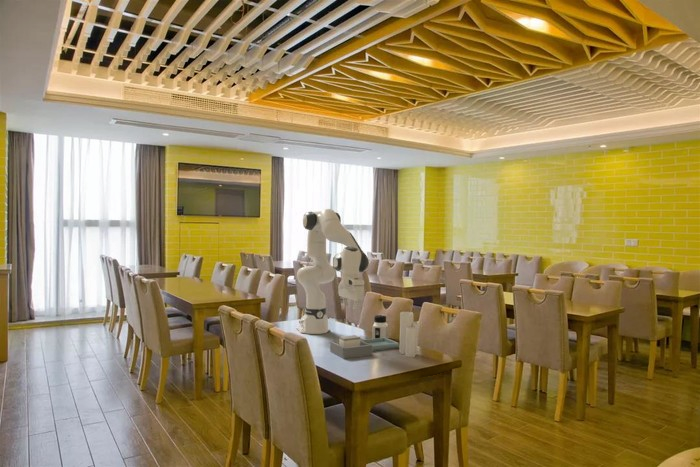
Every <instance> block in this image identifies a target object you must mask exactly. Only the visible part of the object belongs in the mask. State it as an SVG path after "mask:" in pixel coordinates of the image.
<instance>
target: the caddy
mask: <svg viewBox="0 0 700 467" xmlns="http://www.w3.org/2000/svg"><path fill="white" fill-rule="evenodd" d="M338 338H339V341H338V342H339V345H341V346H343V347H345V348H346V347H355V346H360V340H361V337H360V336H358V335H356V334H354V335H343V336H339V337H338Z"/></svg>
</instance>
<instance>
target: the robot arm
mask: <svg viewBox="0 0 700 467" xmlns="http://www.w3.org/2000/svg"><path fill="white" fill-rule="evenodd" d="M341 219H342V218H341V216H340V214H339V213H338V212H336V211H334V210H333V209H331V208H325V209H323V210H322V211H320V210H319V211H308V212H305V213H304V214H303V218H302V225H303V228H304V229H305V230H307V231H308V232H307V240H306V242H307V243H306V244H307V245H306V246H307V248H306V250H307V252H306V254H307V257H308V258H310V259H311V261H312V262H313V265H307V266H304V267H300V268H298V270H297V272H296V279H297V281H298V283H299V284H300V285H301V286H302V287H303V289H304V291H305V296H306V298H305V299H306V300H305V301H306V306H305V310H304V315H303V316H302V317H301V318H300V320H298V324H299V325H297V326H296V328H295V329H296V330H297V329H298V330H299V331H298V330H297V331H298V332H299V333H300V334H308V335H309V334H310V335H321V334H327V333H328V332H329V331H331V328H329V318H328V316H327V315H326V314H327V307H326V294H325V293H324V291H322V290H321V288H320V285H322V284H323V285H324V284H328V283H330V282H333V281H334V280H335V278H336V272H341V280H340V282H339V284H338V293H337V294H338V296H339V297H341V298H342V302H343V307H345V308H346V307H348V306H349V303H348V299H349V300H352V301H353V305H352V310H358V305H359V303H360V302H362V301H363V300H364V296H365V287H364V286H365V280H364V279H362V277H361V276H360V275H361V273H363V272H364V271H366V270H367V269H368V267H369V264H370V261H369V258H368V256H367V255H366V253H365V252H364V251H363V250H362V248H361V247H360V244H358V242H357V239H355V236H354V235H353V234H352V233H351V232H350V231H349V230H347V229H346V228H345V227H344V226H343V224H342V220H341ZM327 240H328V241H330V242H332V243H337V244H341V245H344V246H345V247H343V248H342V250H341V252H338V253H336V254H335V255H334V256H333V258H332V265H331V264H330V262H329V260H328V256H327ZM335 271H336V272H335Z"/></svg>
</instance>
